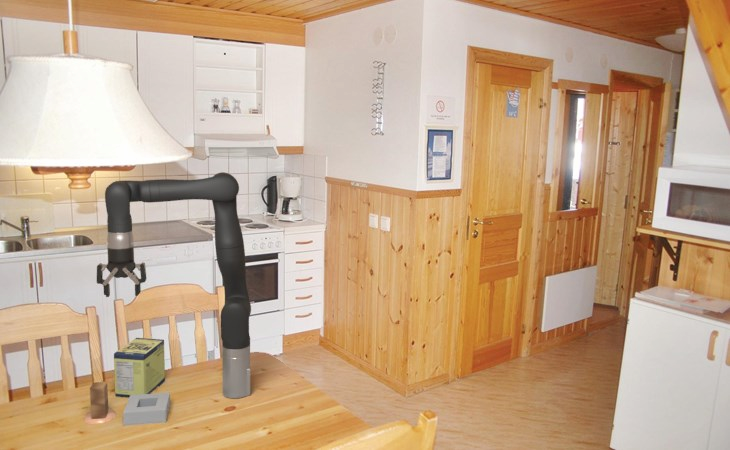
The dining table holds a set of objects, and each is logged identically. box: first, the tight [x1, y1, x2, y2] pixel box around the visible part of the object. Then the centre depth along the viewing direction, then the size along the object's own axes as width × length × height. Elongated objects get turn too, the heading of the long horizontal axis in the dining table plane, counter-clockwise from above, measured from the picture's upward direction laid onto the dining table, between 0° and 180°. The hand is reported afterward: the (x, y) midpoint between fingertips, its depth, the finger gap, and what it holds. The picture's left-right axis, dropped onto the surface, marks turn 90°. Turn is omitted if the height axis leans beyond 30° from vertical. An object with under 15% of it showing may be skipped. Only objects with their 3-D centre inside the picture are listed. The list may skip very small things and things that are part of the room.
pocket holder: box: [122, 392, 171, 427], centre depth 177 cm, size 12×12×4 cm
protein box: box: [113, 337, 166, 399], centre depth 194 cm, size 10×16×16 cm
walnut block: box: [89, 381, 109, 419], centre depth 174 cm, size 4×4×10 cm
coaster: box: [83, 408, 117, 425], centre depth 175 cm, size 9×9×1 cm
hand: (122, 295), depth 179 cm, fingers open, 8 cm apart
